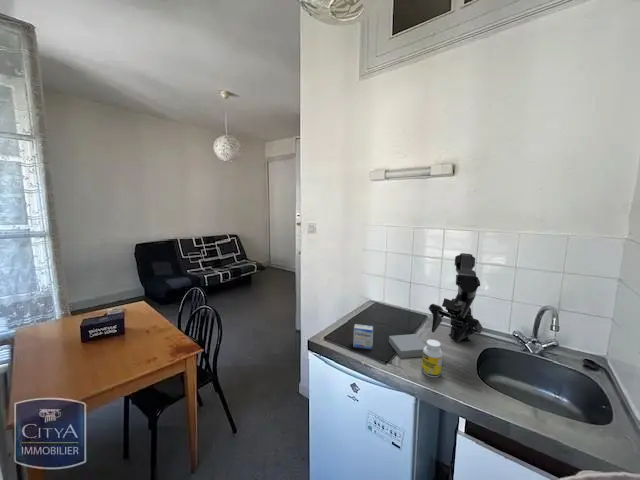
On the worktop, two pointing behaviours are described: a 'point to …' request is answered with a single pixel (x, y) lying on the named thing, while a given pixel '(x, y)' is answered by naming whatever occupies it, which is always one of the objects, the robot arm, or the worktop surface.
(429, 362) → the pill bottle
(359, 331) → the medicine box
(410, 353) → the riser
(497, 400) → the worktop surface
